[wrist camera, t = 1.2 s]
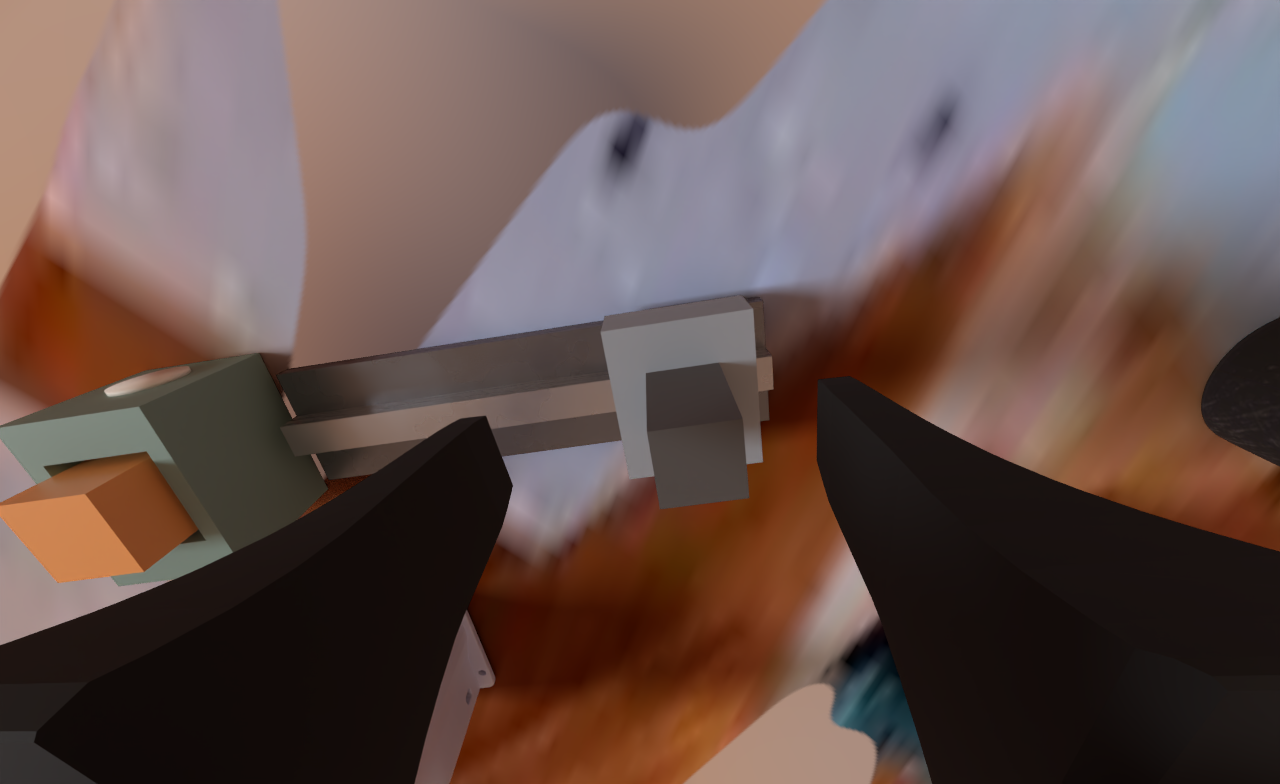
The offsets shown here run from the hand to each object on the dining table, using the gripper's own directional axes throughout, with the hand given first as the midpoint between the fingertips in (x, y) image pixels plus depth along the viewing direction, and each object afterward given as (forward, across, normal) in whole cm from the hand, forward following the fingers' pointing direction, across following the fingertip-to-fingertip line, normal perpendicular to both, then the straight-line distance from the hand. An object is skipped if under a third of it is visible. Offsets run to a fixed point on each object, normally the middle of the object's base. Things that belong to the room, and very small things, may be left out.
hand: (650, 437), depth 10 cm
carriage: (+11, 0, +5) cm, 12 cm away
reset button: (+6, +22, +4) cm, 24 cm away
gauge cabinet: (+10, +23, +4) cm, 25 cm away
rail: (+12, +8, +5) cm, 15 cm away
